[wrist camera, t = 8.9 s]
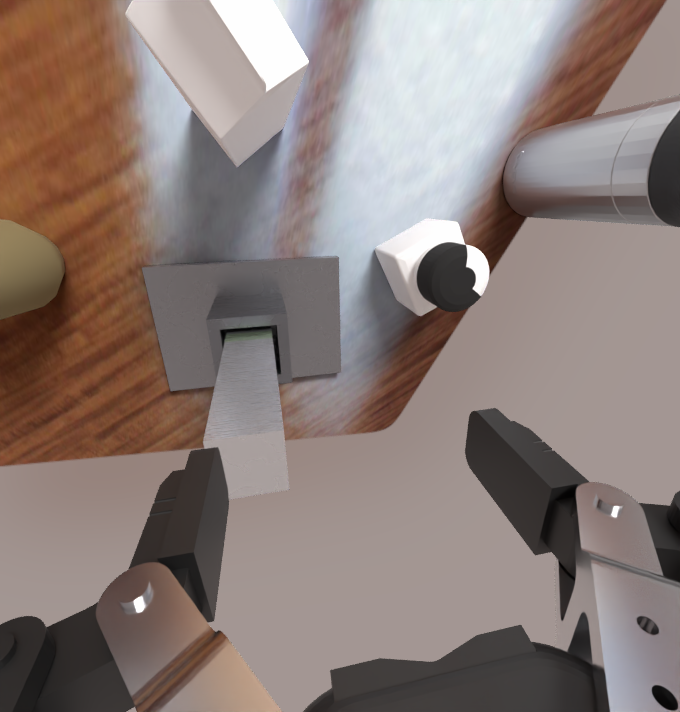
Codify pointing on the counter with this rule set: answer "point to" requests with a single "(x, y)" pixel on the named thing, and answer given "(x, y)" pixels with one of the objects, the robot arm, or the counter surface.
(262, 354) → the column
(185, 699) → the robot arm
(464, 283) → the medicine bottle
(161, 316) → the stand
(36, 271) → the squeeze bottle
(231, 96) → the milk
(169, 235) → the counter surface
